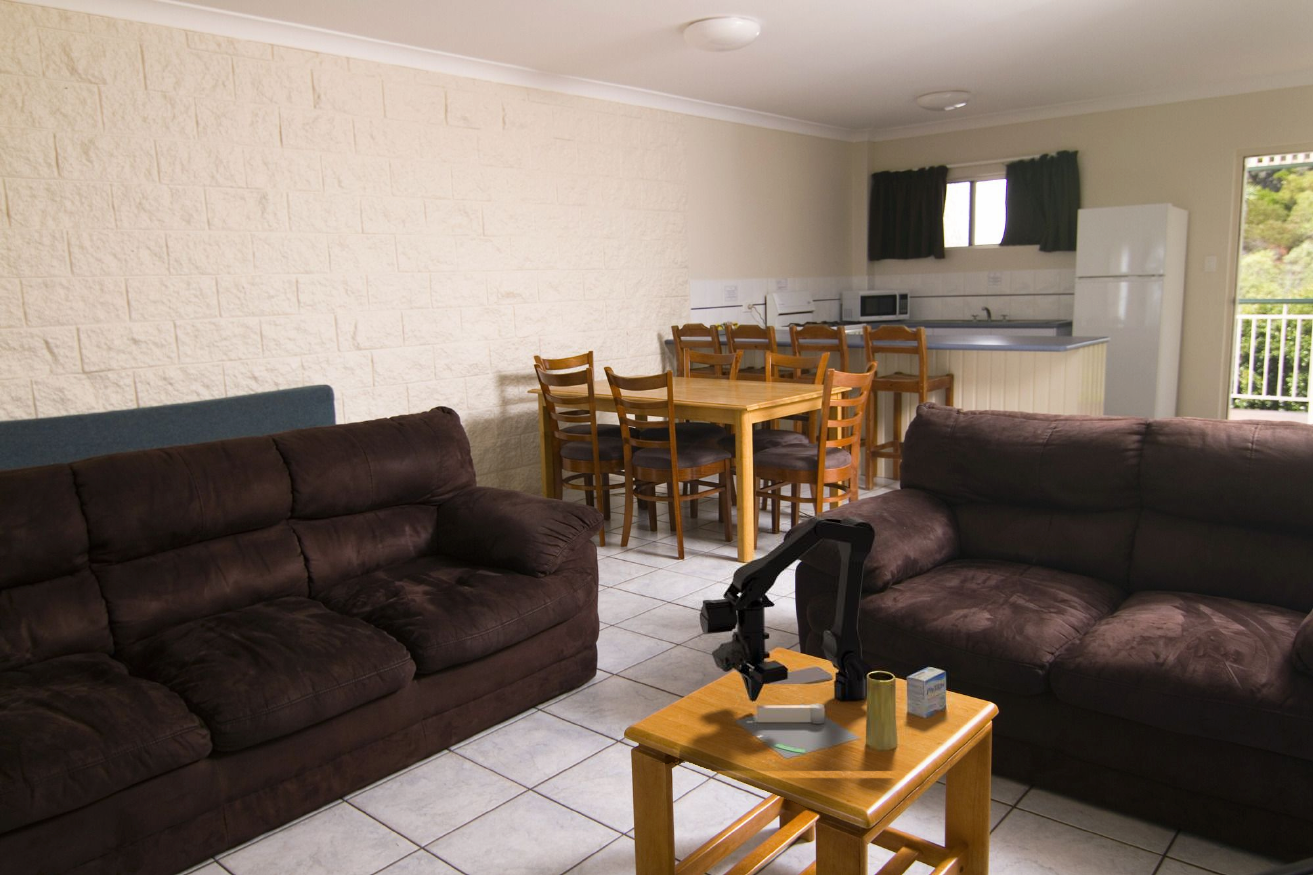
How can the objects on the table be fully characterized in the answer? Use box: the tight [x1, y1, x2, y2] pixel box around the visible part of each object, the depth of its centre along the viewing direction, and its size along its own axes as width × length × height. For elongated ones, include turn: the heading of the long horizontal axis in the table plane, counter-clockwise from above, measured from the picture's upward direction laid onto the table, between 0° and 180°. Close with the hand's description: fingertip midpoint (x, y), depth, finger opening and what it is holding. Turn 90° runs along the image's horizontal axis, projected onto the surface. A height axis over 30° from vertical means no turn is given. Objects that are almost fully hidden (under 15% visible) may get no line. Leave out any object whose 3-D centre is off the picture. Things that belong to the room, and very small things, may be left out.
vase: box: [865, 670, 899, 751], centre depth 173 cm, size 6×6×14 cm
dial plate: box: [734, 703, 861, 760], centre depth 181 cm, size 17×19×1 cm
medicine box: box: [906, 666, 947, 719], centre depth 188 cm, size 8×4×9 cm, turn 131°
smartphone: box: [768, 665, 834, 685], centre depth 209 cm, size 7×1×15 cm
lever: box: [756, 703, 826, 724], centre depth 184 cm, size 14×3×3 cm, turn 86°
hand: (752, 700), depth 190 cm, fingers closed
